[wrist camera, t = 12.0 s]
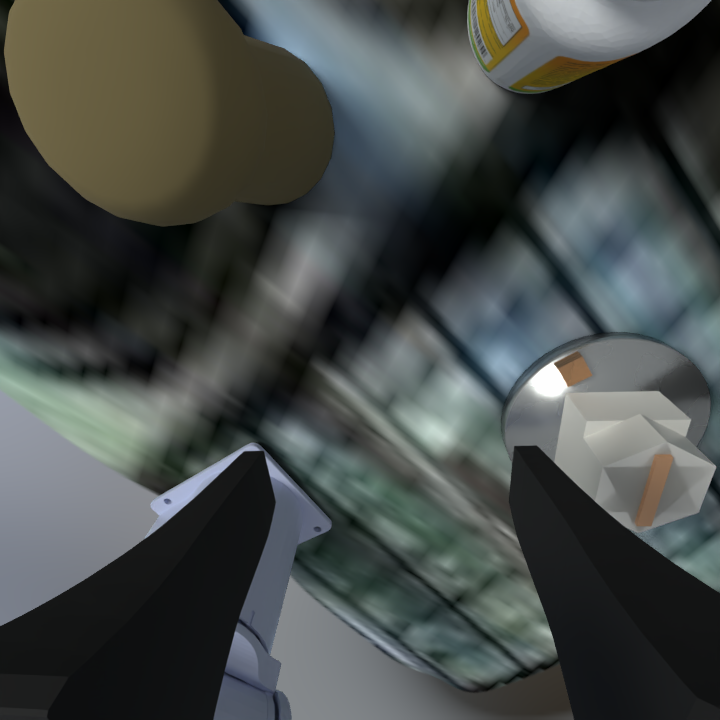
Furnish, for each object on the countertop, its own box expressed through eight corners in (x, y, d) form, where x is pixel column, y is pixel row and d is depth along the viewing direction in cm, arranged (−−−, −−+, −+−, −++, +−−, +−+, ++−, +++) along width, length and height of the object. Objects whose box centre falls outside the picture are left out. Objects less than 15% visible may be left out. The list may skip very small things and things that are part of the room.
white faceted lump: (637, 466, 23) (693, 537, 18) (553, 466, 23) (589, 536, 19) (660, 385, 20) (729, 444, 16) (567, 387, 21) (610, 445, 17)
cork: (355, 80, 17) (299, -35, 7) (309, 225, 19) (221, 296, 9) (210, 15, 16) (-83, -213, 6) (183, 175, 19) (-52, 193, 9)
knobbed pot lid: (547, 510, 26) (566, 555, 23) (468, 393, 22) (479, 427, 20) (721, 441, 23) (769, 482, 20) (659, 294, 19) (705, 317, 17)
